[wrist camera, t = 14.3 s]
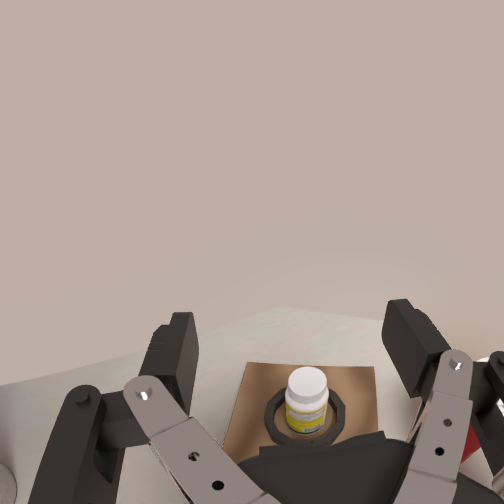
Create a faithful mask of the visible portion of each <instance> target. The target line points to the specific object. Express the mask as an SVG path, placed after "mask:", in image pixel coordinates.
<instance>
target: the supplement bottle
mask: <svg viewBox="0 0 504 504" xmlns="http://www.w3.org/2000/svg"><path fill="white" fill-rule="evenodd" d="M328 397H329V391H328V388H327V379H326V376H325V374H324V373H323V372H322V371H321V370H319V369H317V368H315V367H308V366H307V367H301V368H298V369H296V370H295V371H293V372H292V373H291V375H290V376H289V379H288V387H287V389H286V392H285V405H286V423H287V426H288V427H289V429H290V430H291V431H292V432H294V433H296V434H298V435H312V434H314V433H316V432H318V431H319V430H320V429H321V428H322V427H323V425H324V422H325V417H326V410H327V403H328Z"/></svg>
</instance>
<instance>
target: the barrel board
mask: <svg viewBox="0 0 504 504" xmlns="http://www.w3.org/2000/svg"><path fill="white" fill-rule="evenodd" d="M301 367H307V366H303V365H283V364H268V363H255V362H247V366H246V369H245V373H244V376H243V380H242V383H241V387H240V390H239V394H238V397H237V401H236V404H235V408H234V411H233V414H232V418H231V421H230V425H229V428H228V432H227V435H226V438H225V442H224V445H223V448H222V450H223V451H224V452H225V453H226V454H227V455H228V456H229V457H230V458H231V459H232V461H233V462H234V463H235V464H237V463H238V462H240V461H242V460H244V459H247V458H249V457H252V456H256V455H259V446H274V445H288V444H293V445H302V446H312V447H328V446H331V445H333V444H336V443H339V442H341V441H344V440H346V439H349V438H351V437H354V436H358V435H363V434H368V433H373V432H378V416H377V399H376V385H375V373H374V367H335V366H308V367H315V368H317V369H319V370H321V371H322V372H323V373H324V374H325V376H326V379H327V388H328V391H329V397H328V403H327V410H326V417H325V422H324V425H323V427H322V428H321V429H320V430H319V431H318V432H316V433H314V434H312V435H298V434H296V433H294V432H292V431H291V430H290V429H289V427H288V426H287V423H286V405H285V392H286V389H287V387H288V379H289V376H290V375H291V373H292V372H293V371H295V370H296V369H298V368H301Z"/></svg>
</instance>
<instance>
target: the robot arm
mask: <svg viewBox="0 0 504 504" xmlns="http://www.w3.org/2000/svg"><path fill="white" fill-rule="evenodd" d="M382 341H383V344H384V346H385V348H386V350H387V352H388V354H389V356H390V358H391V360H392V362H393V364H394V366H395V368H396V370H397V372H398V374H399V376H400V378H401V380H402V382H403V384H404V386H405V388H406V390H407V392H408V394H409V396H410V398H415V397H419V396H421V398H422V401H421V404H420V406H419V409H418V412H417V415H416V417H415V420H414V423H413V426H412V428H411V431H410V434H409V436H408V438H407V441H406V442H404V441H401V440H396V439H386V437H385V434H384V431H378V432H373V433H368V434H363V435H358V436H354V437H351V438H349V439H346V440H344V441H341V442H339V443H336V444H333V445H331V446H328V447H312V446H302V445H293V444H288V445H274V446H259V455H256V456H252V457H249V458H247V459H244V460H242V461H240V462H238V463H237V464H235V463H234V462H233V461H232V459H231V458H230V457H229V456H228V455H227V454H226V453H225V452H224V451H223V450H222V449H221V448H220V446H219V445H218V444H217V443H216V442H215V441H214V440H213V439H212V437H211V436H210V435H209V434H208V433H207V432H206V431H205V429H204V428H203V427H202V426H201V425H200V424H199V422H198V421H197V420H196V419H195V418H194V417H190V418H189V413H190V406H191V400H192V393H193V387H194V381H195V375H196V368H197V362H198V356H199V345H198V338H197V333H196V327H195V321H194V317H193V313H192V312H174V313H173V315H172V318H171V321H170V324H169V325H161V326H160V327H159V328H158V329H157V330H156V331H155V332H154V333H153V336H152V339H151V341H150V342H151V343H150V344H149V347H148V351H147V352H146V355H145V358H144V361H143V364H142V366H141V369H140V372H139V375H138V377H135V378H133V379H132V380H130V381H129V382H128V383H127V384H126V385H125V387H124V390H122V391H118V392H113V393H107V394H101V393H100V391H99V390H98V389H97V388H96V387H94V386H91V385H81V386H78V387H75V388H74V389H72V390H71V391H70V392H69V393H68V394H67V396H66V398H65V400H64V403H63V405H62V407H61V410H60V412H59V415H58V417H57V420H56V422H55V425H54V427H53V430H52V433H51V435H50V438H49V441H48V443H47V446H46V449H45V452H44V455H43V457H42V460H41V463H40V466H39V469H38V472H37V475H36V478H35V481H34V485H33V488H32V491H31V494H30V498H29V501H28V504H116V497H117V491H118V486H119V480H120V474H121V469H122V464H123V458H124V453H125V448H126V447H132V446H138V445H144V444H148V445H149V446H150V448H151V450H152V451H153V453H154V454H155V456H156V457H157V459H158V460H159V462H160V463H161V465H162V466H163V468H164V469H165V471H166V472H167V474H168V475H169V476H170V478H171V479H172V481H173V482H174V484H175V485H176V487H177V488H178V490H179V491H180V492H181V494H182V495H183V496H184V498H185V499H186V500H187V502H188V503H189V504H504V416H503V414H502V412H501V410H500V409H499V407H498V405H497V403H498V401H499V400H500V399H501V401H502V402H503V404H504V352H502V351H496V352H494V353H492V354H491V355H490V357H489V359H488V362H473V361H472V359H471V358H470V357H469V356H468V355H467V354H466V353H464V352H462V351H460V350H454V349H453V350H452V349H451V347H450V346H449V345H448V343H447V342H446V340H445V339H444V338H443V336H442V335H441V334H440V332H439V331H438V330H437V328H436V327H435V326H434V324H432V321H431V320H430V319H429V317H428V316H427V315H426V314H425V313H423V312H422V311H420V310H419V309H414V308H413V306H412V305H411V304H410V302H409V301H408V300H407V299H397V300H390V301H389V302H388V304H387V309H386V313H385V319H384V323H383V327H382ZM469 422H470V423H471V425H472V428H473V430H474V432H475V434H476V436H477V439H478V441H479V443H480V445H481V448H482V450H483V452H484V455H485V457H486V459H487V462H488V464H489V467H490V469H491V472H492V474H493V477H494V478H493V481H492V490H490V489H488V488H487V487H485V486H483V485H481V484H479V483H477V482H475V481H474V480H472V479H470V478H468V477H467V476H465V475H463V474H461V473H459V472H458V470H459V466H460V462H461V458H462V454H463V450H464V446H465V442H466V437H467V432H468V427H469ZM16 489H17V488H16V482H15V479H14V477H13V475H12V473H11V472H10V471H9V469H7V468H6V467H5V466H4V465H2V464H1V463H0V504H14V501H15V498H16Z"/></svg>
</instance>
